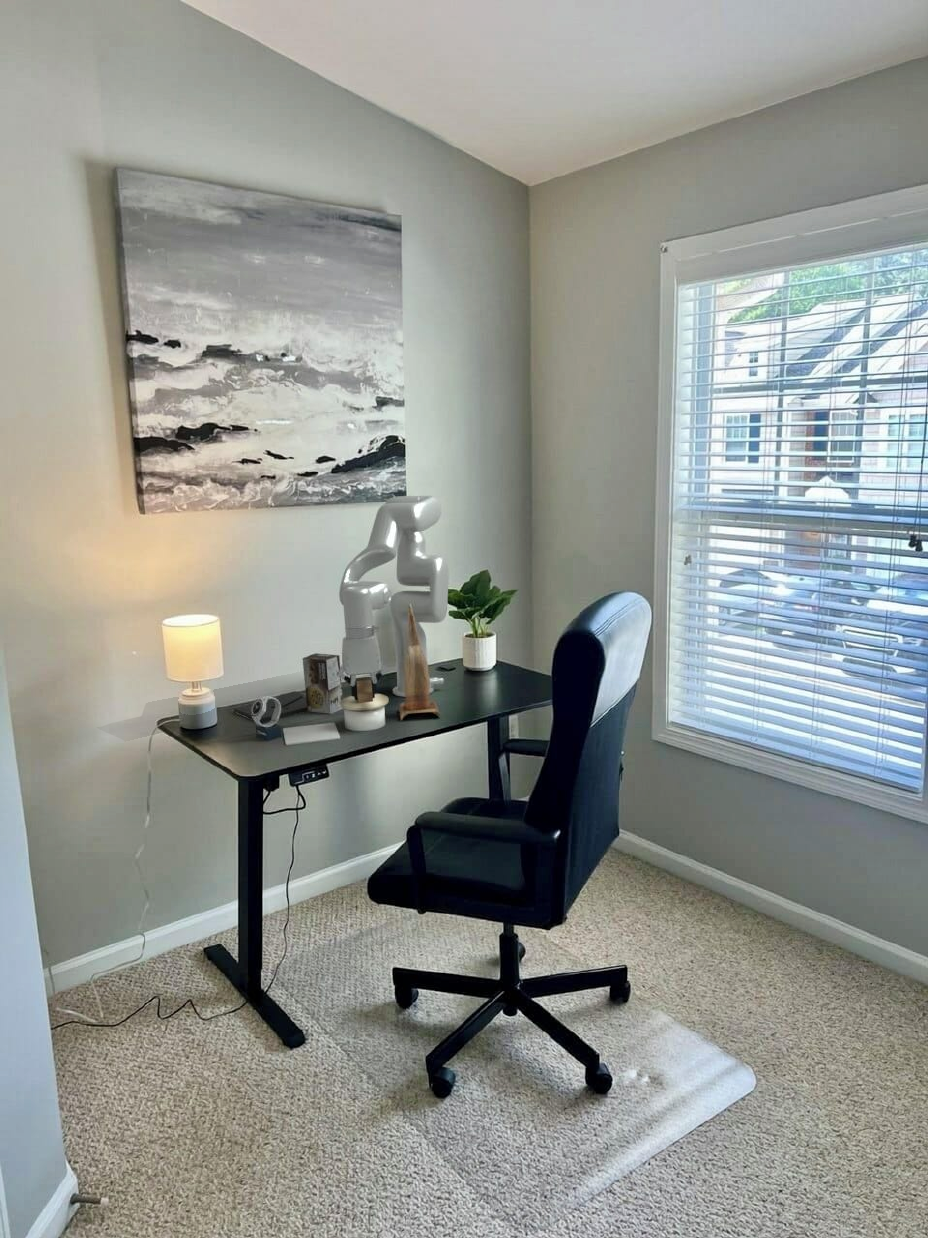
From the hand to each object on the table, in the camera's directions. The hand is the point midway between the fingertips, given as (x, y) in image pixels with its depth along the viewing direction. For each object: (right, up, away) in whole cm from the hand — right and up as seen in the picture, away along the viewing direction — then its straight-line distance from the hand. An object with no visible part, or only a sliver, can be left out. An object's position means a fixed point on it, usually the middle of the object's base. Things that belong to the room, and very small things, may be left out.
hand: (364, 697), depth 244 cm
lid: (0, -2, 0) cm, 2 cm away
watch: (-25, -10, -6) cm, 28 cm away
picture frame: (-27, -6, +19) cm, 34 cm away
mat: (-14, -9, -5) cm, 17 cm away
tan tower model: (+15, -6, +9) cm, 18 cm away
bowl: (0, -8, +1) cm, 8 cm away
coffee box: (-13, -5, +17) cm, 22 cm away
